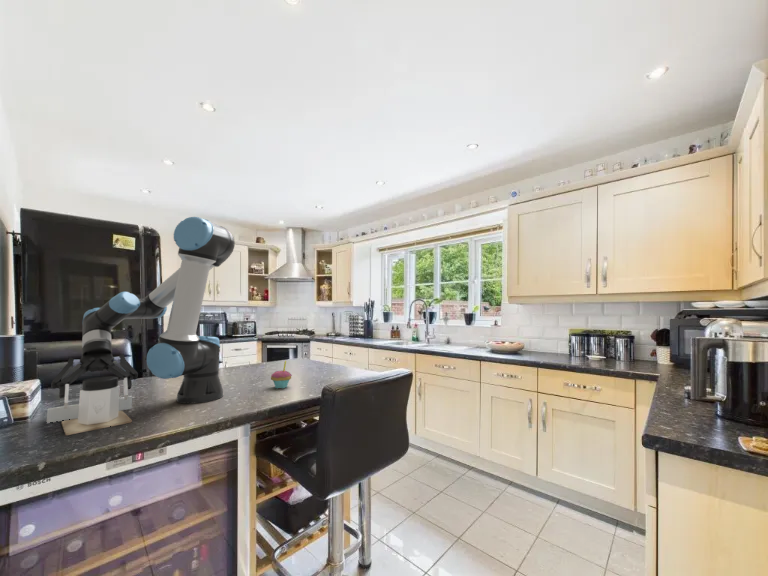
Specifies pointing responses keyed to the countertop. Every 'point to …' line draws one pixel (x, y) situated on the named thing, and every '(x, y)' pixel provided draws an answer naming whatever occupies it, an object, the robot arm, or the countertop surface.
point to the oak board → (75, 427)
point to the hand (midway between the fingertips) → (97, 401)
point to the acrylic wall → (73, 410)
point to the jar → (98, 400)
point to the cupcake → (281, 378)
